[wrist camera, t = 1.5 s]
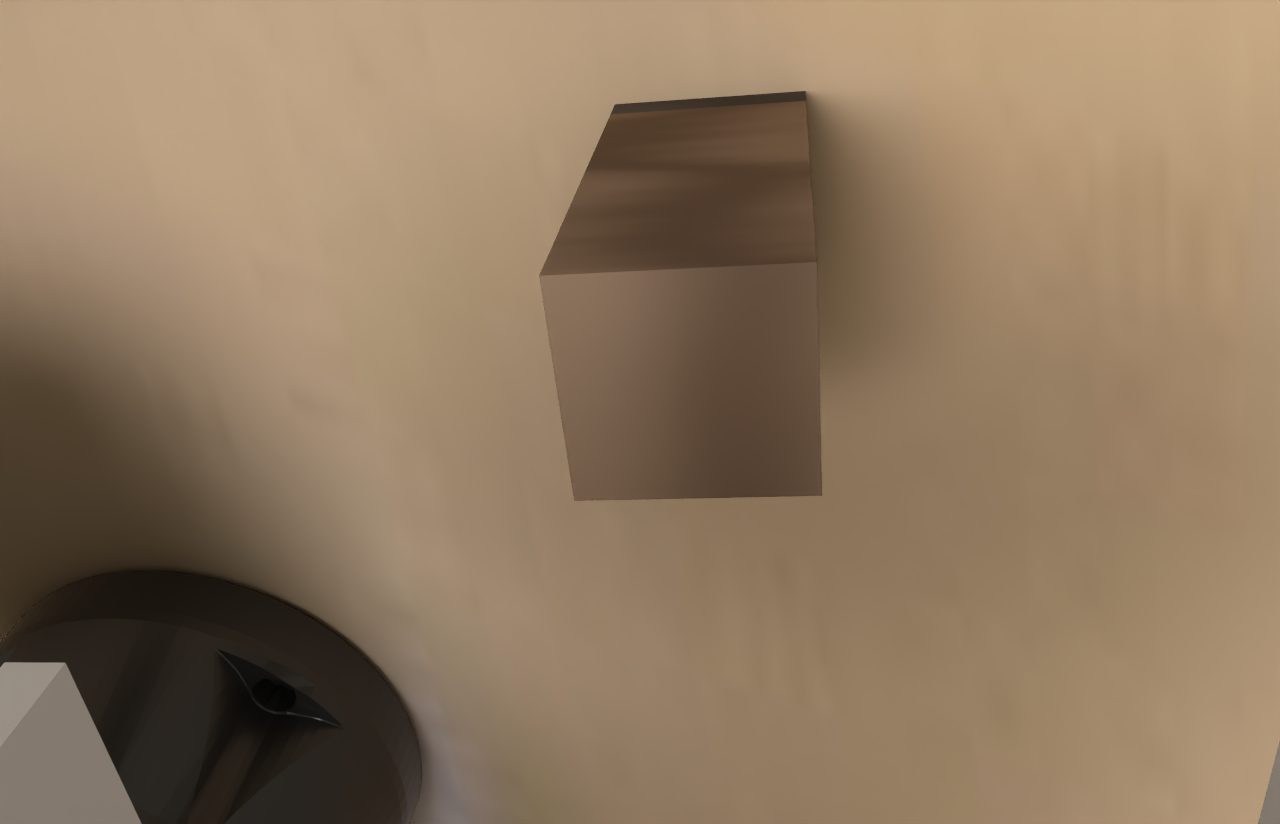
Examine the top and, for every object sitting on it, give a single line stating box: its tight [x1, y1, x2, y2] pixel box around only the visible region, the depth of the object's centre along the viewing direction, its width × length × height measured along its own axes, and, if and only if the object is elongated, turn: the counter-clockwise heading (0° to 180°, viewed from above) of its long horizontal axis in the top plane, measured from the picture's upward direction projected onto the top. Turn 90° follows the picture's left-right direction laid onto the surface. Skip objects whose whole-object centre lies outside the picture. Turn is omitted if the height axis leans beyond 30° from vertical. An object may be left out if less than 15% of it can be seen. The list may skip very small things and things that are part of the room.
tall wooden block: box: [539, 91, 822, 501], centre depth 24 cm, size 4×4×10 cm
